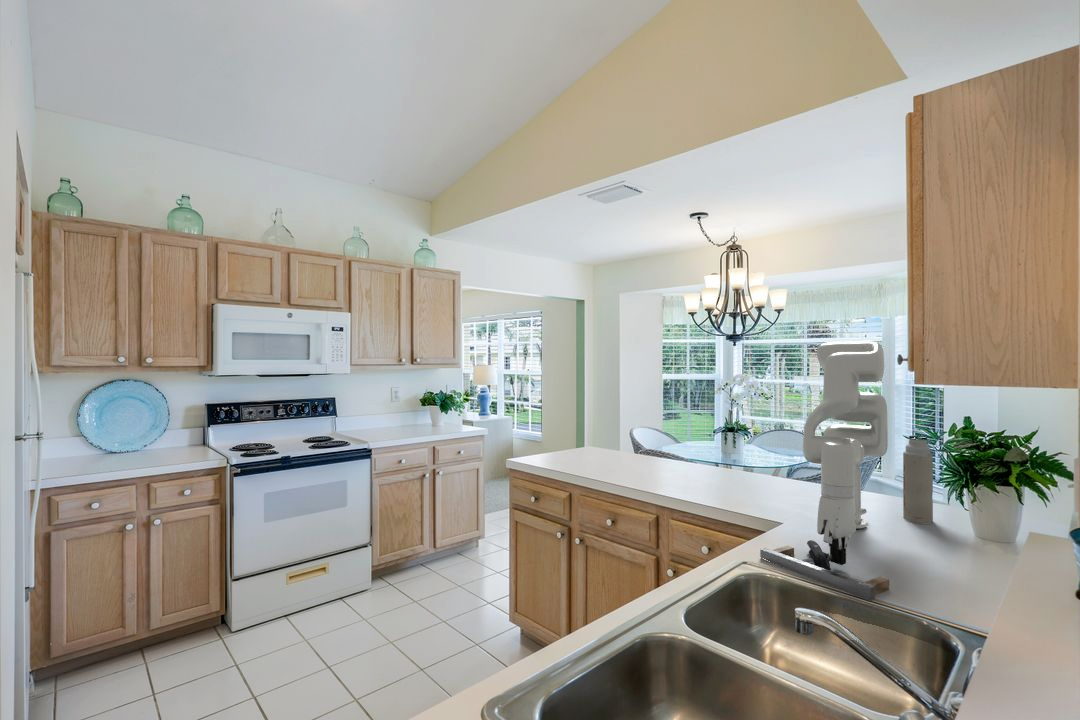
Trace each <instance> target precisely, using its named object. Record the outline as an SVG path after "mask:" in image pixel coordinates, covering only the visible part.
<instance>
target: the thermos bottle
mask: <svg viewBox="0 0 1080 720" xmlns="http://www.w3.org/2000/svg"><path fill="white" fill-rule="evenodd" d="M914 437H926V438H922V439H924V440H916V439H911V438H914ZM908 438H909V439H908V444H906V445H905V447H904V449H905V450H904V451H903V452H902V466H903V467H902V468H903V469H902V471H903V472H902V474H903V475H902V479H903V480H902V481H903V482H902V483H903V487H902V491H903V492H902V493H903V494H902V497H903V498H902V501H903V503H902V506H903V507H902V508H903V509H902V510H903V513H902V514H903V519H904V521H905V520H906V521H908V522H912V523H917V524H922V525H923V524H924V525H929V524H930V525H931V524H933V523H934V502H933V501H934V500H933V491H934V490H933V489H934V485H933V483H934V478H933V477H934V475H933V474H934V471H933V469H934V462H933V458H934V456H933V453H931V447H930V446H928V441H927V440H928V437H927V436H923V435H909V436H908Z"/></svg>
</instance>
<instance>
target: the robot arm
mask: <svg viewBox="0 0 1080 720" xmlns="http://www.w3.org/2000/svg"><path fill="white" fill-rule="evenodd" d="M884 353H885V352H884V348H883V347H882V345H881V344H880V343H879V342H876V341H836V342H835V341H834V342H833V341H832V342H824V343H822V344H820V345H819V346H818V347H817V348H816V356H817V358H816V359H817V361H818V363H819V364H820V366H821V369H822V370H823V387H822V388H823V390H822V391H823V395H822V401H821V403H819V405H818V406H816V407H815V408H814V409H813V410H812V411H811V412H810V414H808V416H807V418H806V421H805V424H804V426H803V438H802V440H803V441H802V453H803V456H804V458H805V460H806V461H807V462H808V463H812V464H818V465H820V468H821V469H820V485H821V486H820V497H819V501H818V510H817V523H816V526H817V529H816V531H817V534H818V535H820V536H821V535H822V536H823V540H822V541H823V542H824V543H826V544H828V547H829V555H830V554H831V555H832V559H831V560H830V562H831V563H833V564H837V565H839V566H843V565H846V564H847V548H848V540H849V539H850V538H852V536H853V534H855V533H856V531H857V530H859V529H864V528H866V527H867V525H868V524H867V521H866V520H865V519H863V518H862V515H865V514H867V513H868V512H867V508H864V507H862V486H861V485H862V481H861V480H862V478H861V477H862V473H861V472H862V471H861V468H860V465H861V463H862V462H863V461H864V459H865V457H870V458H871V457H872V458H881V457H884V456H885V455H886V454H887V450H888V446H889V445H888V442H889V441H888V438H889V434H888V428H889V427H888V406H887V401H886V399H885V397H884V396H883V395H881V394H880V393H876V392H860V391H859V389H860V388H859V386H860V385H859V383H877V382H880V381H882V379H883V377H884V374H885V354H884ZM829 419H831V420H832V421H835V422H839V423H840V422H841V423H859V424H868V425H869V426H868V425H855V424H854V425H853V424H832V425H829V426H827V427H826V428H825V429H824V432H823V435H816V431H817V428H818V427H819V426H820V424H821V423H824V421H826V420H827V421H828V420H829ZM856 529H857V530H856Z"/></svg>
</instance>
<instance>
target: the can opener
mask: <svg viewBox="0 0 1080 720" xmlns="http://www.w3.org/2000/svg"><path fill="white" fill-rule="evenodd" d="M806 545H807V546H808V548H809V551H808V555H809V557H810V558H804V559H801V561H804V562H807V563H810V564H813V565H815V566H818V567H821V568H824V569H827V570H830V571H832V568H831V563H830V562H831V561H830V560H831V559H832V555H831V554H830V552H829V553H826V552H825V551H823V549H822V548H821V546H820V544H819V543H817V542H816V541H814V540H811V539H810V540H808V541H806Z"/></svg>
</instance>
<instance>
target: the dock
mask: <svg viewBox="0 0 1080 720" xmlns="http://www.w3.org/2000/svg"><path fill="white" fill-rule="evenodd" d="M759 549H760V553H759V554H760V557H761V558H764V559H766V560H768V561H770V562H772V563H771V564H773V563H774V564H773V565H775V564H777V565H776V566H778V565H779V566H778V567H780V566H781V568H783V567H784V568H783V569H786V570H788V569H789V570H788V571H791V572H793V573H796V574H798V575H801V576H804V577H806V578H809V579H811V580H814V581H817V582H819V583H822V584H824V585H827V586H829V587H832V588H835V589H836V590H837V589H838V590H839V591H842V592H845V593H847V594H850V595H853V596H856V597H858V598H860V599H863V600H866V601H868V602H871V601H875V600H876V596H877V595H880V594H882V593H885V592H887V591H889V590H890V579H889V578H887V577H883V576H877V577H874V578H873V579H870V580H867V581H865V582H863V581H861V580H858V579H855V578H852V577H849V576H846V575H844V574H841V573H838V572H836V571H832V570H827V569H824V568H821V567H818V566H815V565H813V564H810V563H807V562H804V561H802V559H801V560H800V559H797V558H795V557H793V556H791V555H794V556H795V548H794V547H793V546H790V545H785V546H781V547H777V548H775V549H769V548H767V547H763V548H759ZM790 556H791V557H790ZM768 561H767V562H768ZM770 562H769V563H770Z"/></svg>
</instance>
